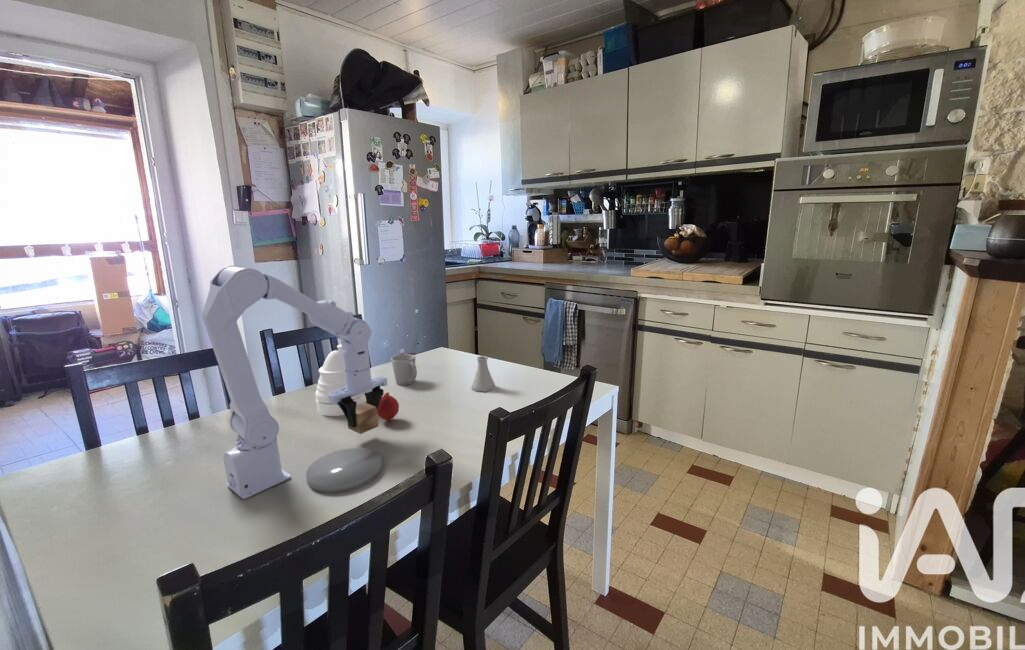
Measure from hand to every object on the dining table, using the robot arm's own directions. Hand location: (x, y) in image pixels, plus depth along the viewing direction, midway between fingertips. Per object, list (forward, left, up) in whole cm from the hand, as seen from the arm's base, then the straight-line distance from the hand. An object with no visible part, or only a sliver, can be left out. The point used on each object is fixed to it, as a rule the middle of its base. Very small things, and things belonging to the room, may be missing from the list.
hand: (362, 421), depth 110 cm
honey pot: (+8, +23, -5) cm, 25 cm away
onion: (+10, +4, -5) cm, 12 cm away
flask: (+42, -1, -5) cm, 42 cm away
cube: (0, 0, -1) cm, 1 cm away
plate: (-11, -9, -5) cm, 15 cm away
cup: (+31, +22, -5) cm, 38 cm away
